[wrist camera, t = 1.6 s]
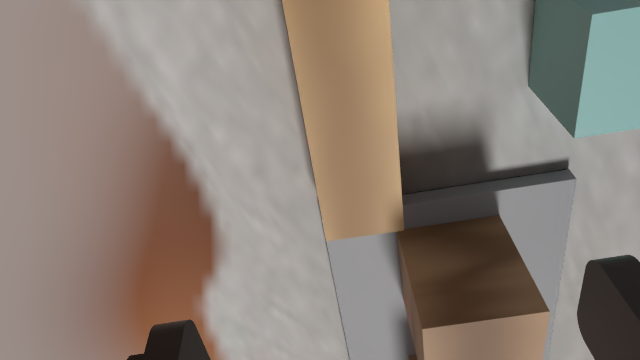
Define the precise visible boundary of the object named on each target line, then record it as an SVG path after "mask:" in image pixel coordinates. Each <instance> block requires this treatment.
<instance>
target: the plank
mask: <svg viewBox="0 0 640 360" xmlns="http://www.w3.org/2000/svg"><path fill="white" fill-rule="evenodd" d="M282 3H283V9H284V14H285V20H286V25H287V30H288V36H289V41H290V47H291V52H292V58H293V63H294V69H295V74H296V80H297V85H298V90H299V96H300V101H301V107H302V112H303V118H304V123H305V129H306V134H307V139H308V145H309V150H310V156H311V161H312V167H313V172H314V178H315V183H316V189H317V194H318V199H319V205H320V210H321V216H322V221H323V227H324V232H325V238H326V241H333V240H340V239H347V238H354V237H361V236H368V235H375V234H382V233H390V232H397V231H404V219H403V204H402V189H401V174H400V159H399V144H398V129H397V114H396V99H395V84H394V69H393V55H392V40H391V25H390V10H389V0H282Z"/></svg>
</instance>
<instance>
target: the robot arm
mask: <svg viewBox="0 0 640 360" xmlns="http://www.w3.org/2000/svg"><path fill="white" fill-rule="evenodd" d="M577 318H578V324H579V328H580V332H581V334H582V337H583V339H584V341H585V343H586V345H587V347H588V348H589V350H590V352H591V354H592V355H593V357H594V359H595V360H640V262H639V261H638V260H637V259H636V258H635V257H633V256H631V255H624V256H617V257H610V258H604V259H597V260H591V261H589V262H588V263H587V265H586V268H585V273H584V279H583V284H582V289H581V294H580V299H579V304H578V310H577ZM127 360H210V357H209V355H208V353H207V351H206V349H205V346H204V344H203V342H202V339H201V337H200V335H199V333H198V330H197V328H196V326H195V324H194V322H193V321H192V320H183V321H177V322H170V323H163V324H158V325H154V326H153V327H152V328H151V330H150V333H149V337H148V341H147V344H146V348H145V352H144V354H138V355H131V356H129V358H128V359H127Z"/></svg>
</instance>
